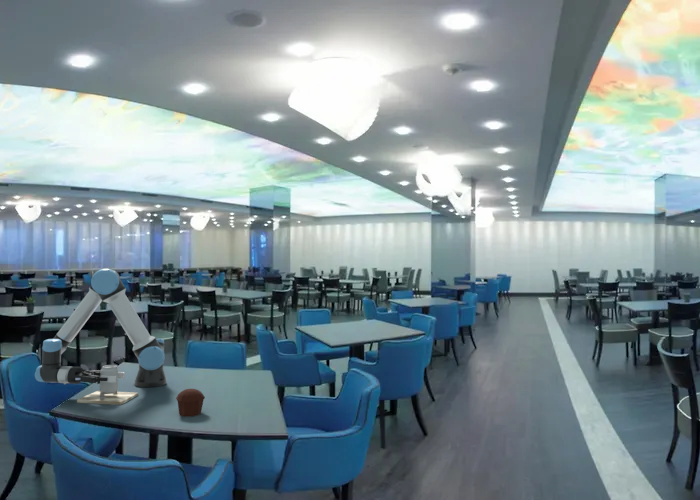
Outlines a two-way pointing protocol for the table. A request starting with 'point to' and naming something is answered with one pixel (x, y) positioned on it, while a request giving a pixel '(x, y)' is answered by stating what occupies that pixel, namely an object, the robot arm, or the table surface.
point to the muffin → (190, 402)
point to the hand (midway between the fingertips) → (119, 377)
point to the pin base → (108, 398)
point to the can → (108, 386)
